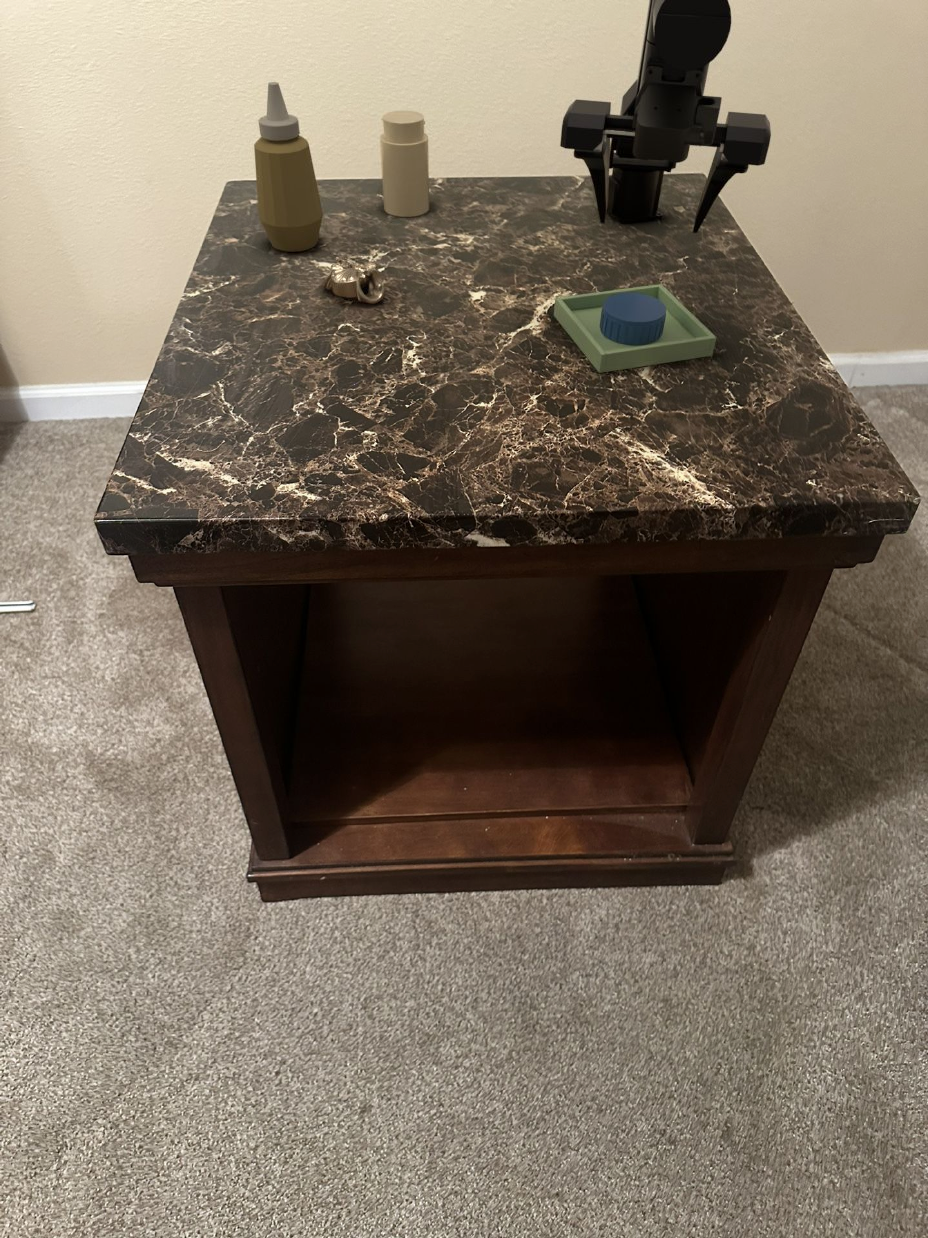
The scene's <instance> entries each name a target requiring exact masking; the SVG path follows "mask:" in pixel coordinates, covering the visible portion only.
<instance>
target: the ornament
mask: <svg viewBox="0 0 928 1238" xmlns="http://www.w3.org/2000/svg"><path fill="white" fill-rule="evenodd" d="M334 261H335V262H336V263H338V264H335V263H333V264H331V265H330V268H331V270H330V272H329V273H328V274H327V275H326V276H325V278H324V279H323V281H322V286H323V287H324V288H325V289H326V290H328V291H332V293H333V294H334V295H335V296H338V297H342V298H357V300H358V302H362V303H367V304H371V305H374V304H377V303H379V302H381V301H382V299H383V298H384V295H385V291H386V286H385V283H384V282H383V279H382V276H381V274H380V272H379V270H377V269H378V268H377V267H378V266H377V264H376V262H374V261H364V262H363V263H360V262H357V263H354V262H353V261H348V260H347V259H343V258H341V257H340V256H335V259H334ZM366 286H368V291H367V294H364V292H363V290H362V288H365V287H366Z"/></svg>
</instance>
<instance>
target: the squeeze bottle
mask: <svg viewBox="0 0 928 1238" xmlns="http://www.w3.org/2000/svg"><path fill="white" fill-rule="evenodd" d="M266 99H267V101H266V115H263V116H260V117H259V119H258V120H257V121H258V128H259V129H258V130H259V134H260V137H259V138H258V139H257V140H256V142H255V143H254V144H253V147H254V148H253V149H254V165H255V178H256V196H257V211H258V219H259V221H260V224H261V226H262V228H263V230H264V232H265V233H266V236H267V237H268V240H269V241H270V244H271V246H272V247H273V248H274V249H277V250H279V251H282V252H290V253H291V252H292V253H293V252H302V251H306V250H310V249H312V248H313V247H315V246H316V245H317V243H318V241H319V237H320V236H319V235H320V231H321V226H322V221H323V216H324V212H323V208H322V203H321V198H320V193H319V188H318V183H317V178H316V173H315V168H314V164H313V158H312V153H311V149H310V144H309V141H308V140H307V139H306V138H305V137H303V136H301V131H300V123H299V119H298V117H297V116H295V115H293V114H289V112H288V109H287V106H286V103H285V102H286V101H285V100H284V97H283V93H282V90H281V87H280V83H279V82H276V81H271V82H268V83H267V98H266Z"/></svg>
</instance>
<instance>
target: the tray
mask: <svg viewBox="0 0 928 1238" xmlns="http://www.w3.org/2000/svg"><path fill="white" fill-rule="evenodd" d="M621 293H639V294H644V295H648V296H651V297H654V298H656V299H658V300H660V301H661V302H662V303H663V304H664V305H665V307H666V317H665V324H664V329H663V334H662V335H661V337H660V338H659V339H658V340H657V341H655V342H653V343H650V344H646V345H625V344H620V343H617V342H614V341H612V340H610V339H608V338H606V337H605V336H604V335H603V334H602V332H601V330H600V327H599V326H600V319H601V312H602V308H603V303H604V301H605V300H606V299H607V298H609V297H611V296H613V295H616V294H621ZM553 309H554V310H553V317H554V318H555V319H556V320H557V322H558V323H559V325H561V327H562V328H563V329H564V331H565V332H566V333H567V334H568V336H569V337H570V338H571V340H572V341H573V342H574V344H576V345H577V347H578V349H579V350H580V351H581V352H582V353H583V354H584V356H585V357H586V359H587V360H588V361H589V362H590V363H591V365H592V367H594V369H595V370H596V372H598V373H599V374H601V373H608V372H614V371H621V370H628V369H634V368H641V367H647V366H654V365H660V364H667V363H674V362H680V361H687V360H693V359H700V358H706V357H712V356H713V354H714V350H715V347H716V346H715V345H716V341H717V336H716V335H714V333H713V332H711V331H710V330H709V328H707V327H706V326H705V325H704V323H702V322H701V321H700V320H699V319H698V318H697V317H696V316H695V315H694V314H693V313H692V312H691V311H690V310H688V308H687V307H686V306H685V305H684V304H682V302H680V300H678V298H676V297H675V296H674V295H673V294H672V293H671V291H669V290H668V289H667V288H666V287H665V286H664V285H663V284H662V283H659V284H651V285H643V286H636V287H628V288H620V289H613V290H604V291H597V292H590V293H581V294H574V295H567V296H559V297H555V298H554V308H553Z"/></svg>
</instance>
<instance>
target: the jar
mask: <svg viewBox="0 0 928 1238" xmlns="http://www.w3.org/2000/svg"><path fill="white" fill-rule="evenodd" d="M381 121H382V127H383V128H382V130H383V132H382V134H380V136H379V144H380V147H379V148H380V162H381V163H380V165H381V179H382V180H381V181H382V201H383V210H384V212H385V213H386V214H388V215H391V216H394V217H400V218H412V217H413V218H414V217H418V216H422V215H424V214H426V213H428V212H429V211H430V162H429V159H430V156H429V155H430V154H429V136H428V134H426V133H425V125H426V120H425V116H424V115H423V113H421V112H418V111H413V110H392V111H388V112H386V113H385V114H383V115H382V117H381Z"/></svg>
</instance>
